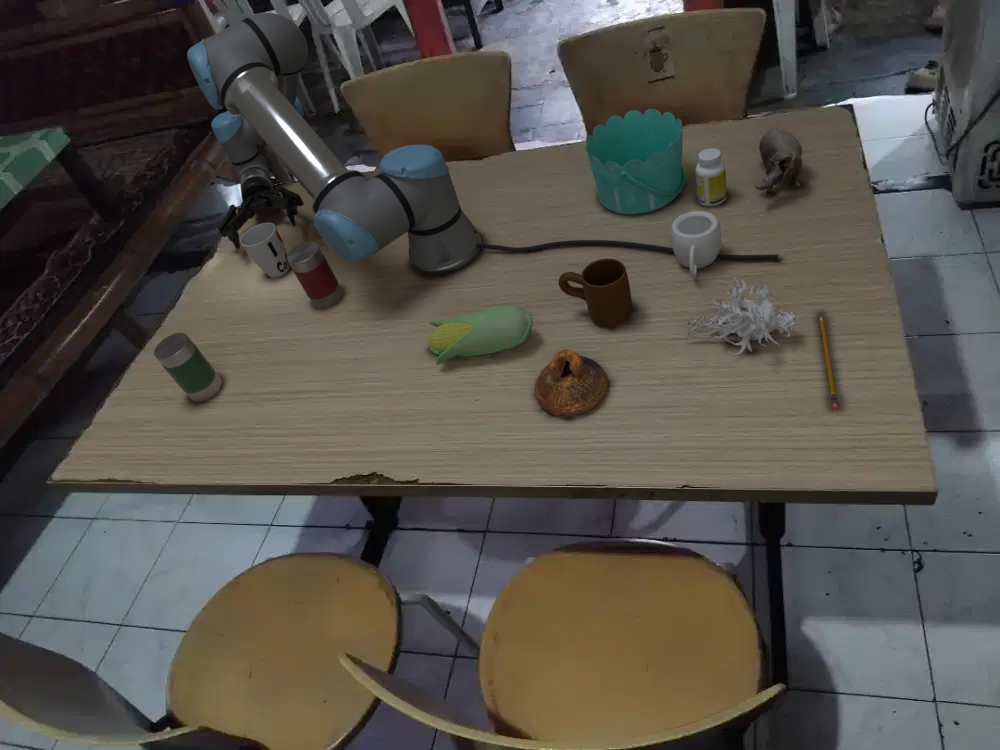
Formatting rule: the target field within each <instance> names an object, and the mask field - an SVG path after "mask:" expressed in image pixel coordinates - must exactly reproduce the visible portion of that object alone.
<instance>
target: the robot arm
mask: <svg viewBox="0 0 1000 750" xmlns="http://www.w3.org/2000/svg"><path fill="white" fill-rule="evenodd" d="M308 55H309V47H308V43H307V40H306V37H305V35H304V33H303V32H302V30H301V28H299V26H297V24H296V23H295V22H293V21H292V20H291V19H289V18H288V17H286V16H283V15H281V14H277V13H274V12H258V13H253V14H251V15H249V16H247V17H245V18H244V19H242V20H240V21H237V22H236V23H234V24H232V25H230V26H228V27H226V28H224V29H222V30H220V31H218V32H216V33H214V34H212V35H211V36H208V37H206V38H202V39H201V41H199V42H198V43H196V44H194V45H193V46H190V48H188V50H187V55H186V57H187V61H188V65H189V67H190V70H191V72H192V74H193V76H194V79H195V80H196V82H197V84H198V86H199V88H200V91H201V92H202V94H203V95H204V97H205V98H206V101H207V102H208V104H209V105H210V106H211V107H212V109H214V110H223V109H224V108H225V109H226V111H225V112H221V113H219V114H218V115H216V116H215V117H214V118H213V119H212V121H211V124H210V125H211V130H212V131H213V133H214V135H215V137H216V139H217V142H218V143H219V144H220V146H221V148H222V150H223V151H224V153H225V155H226V156H227V157H228V160H229V161H230V163H231V165H232V167H233V170H234V171H235V172H236V175H237V176H238V179H239V187H240V195H241V201H242V202H241V203H240V204H239V205H237V206H236V205H235V204H234V203H233V204H230V205H229V208H228V211H227V212H226V214H225V215H224V218H223V219H222V220H221V222H220V223H219V225H218V227H217V230H218V231H219V233H220V234H221V236H222V238H228V240H229V241H230V242H231V243H232V244H233V245H234V247H235V249H236V250H239V249H241V243H240V235H239V234H240V233H239V232H238V231H239V230H241V228H242V227H243V226H244V225H245V224H246V223H247V222H248V220H249V219H250V220H252V219H253V218H254V217H255V216H256V215H257V214H258V213H260V212H262V211H267V210H269V209H272V210H276V209H282V210H285V211H286V216H287V218H288V220H289V222H290V223H291V225H292V227H295V226H297V223H296V218H295V216H296V215H298V213H299V212H298V207H303V206H304V205H305V203H304V201H303V199H302V197H301V196H300V194H299V193H296V192H294V191H292V190H290V189H288V188H285V187H284V185H283V184H280V185H278V186H277V189H276V190H274V187H273V183H272V179H271V173H270V172H271V171H270V165H269V163H268V161H267V159H266V158H265V156H264V155H262V153H261V152H260V149H259V148H258V145H259V144H261V143H262V142H264V143H265V145H267V147H268V148H269V149H270V150H271V151H272V153H273V154H274V155H275V156H276V157H277V159H279V161H280V162H281V163H282V164H283V165H284V167H285V168H286V169H287V170H288V171H289V172H290V174H292V176H293V177H294V178H295V180H296V181H297V182H298V183H299V184H300V185H301V187H302V188H303V189H304V190H305V192H306V193H307V194H308V195H309V196H310V197H311V198H312V200H313V201H312V212H313V213H314V215H313V219H312V220H313V225H314V227H315V229H316V231H317V232H318V234H319V235H320V236H321V237H322V238H323V240H324V242H325V243H326V244H327V245H328V246H329V247H330V249H331V250H333V252H335V254H337V255H338V256H339V257H341V258H342V259H344V260H346V261H348V262H351V263H360V262H363V261H365V260H366V259H368V258H370V257H372V256H374V255H376V254H378V253H379V252H380V251H381V250H382V249H384V248H385V247H387V246H388V245H390V244H391V243H392V242H394V241H395V240H397V239H398V238H400V237H401V236H403V235H405V234H406V233H407V238H408V258H409V261H410V263H411V266H412V268H413V269H414V270H415V271H416V272H418V273H420V274H422V275H426V276H443V275H447V274H451V273H454V272H456V271H459V270H460V269H463V268H465V267H466V266H467V265H469V264H470V263H471V262H472V261H474V260H475V259H476V257H477V256H478V255H479V254H480V252H481V250H482V249H483V250H494V251H502V252H508V253H510V252H511V253H526V252H527V253H528V252H533V251H540V250H544V249H549V248H550V249H551V248H558V247H567V246H612V247H613V246H614V247H624V248H634V249H641V250H648V251H649V250H650V251H655V252H662V253H666V254H667V253H668V254H674V251H673V248H672V247H667V246H662V245H655V244H647V243H641V242H640V243H639V242H629V241H622V240H621V241H620V240H606V239H605V240H604V239H578V240H577V239H576V240H561V241H553V242H548V243H541V244H538V245H532V246H524V247H523V246H521V247H513V246H505V245H500V244H499V245H497V244H486V243H483V241H482V238H481V235H480V232H479V230H478V228H477V227H476V226H475V225H474V223H473V222H472V221H471V220H470V219H469V218H468V217H467V215H466V213H464V211H463V209H462V207H461V203H460V200H459V198H458V195H457V192H456V189H455V187H454V184H453V180H452V178H451V174H450V172H449V171H450V170H449V166H448V165H447V162H446V161H445V159H444V156H443V154H442V152H441V151H440V150H439V149H438V148H437V147H434V146H432V145H429V144H423V143H422V144H408V145H403V146H401V147H397V148H395V149H393V150H391V151H389V152H387V153H385V155H384V156H383V157H382V158H381V160H380V164H379V165H380V171H381V172H379V174H377V175H375V176H374V177H372V178H371V179H370V178H369V180H368V178H366V176H364V174H363V173H362V172H361V171H359V170H356V169H348V168H347V167H346V166H345V165H344V164H343V162H342V161H341V160H340V159H339V158H338V157H337V155H336V154H335V153H334V152H333V151H332V150H331V149H330V148H329V146H328V145H327V144H326V143H325V141H324V140H323V139H322V138H321V137H320V135H318V133H316V131H315V130H314V129H313V128H312V126H311V125H310V124H309V123H308V122H307V121H306V120H305V119H304V116H305V109H304V107H303V104H302V103H301V101H300V99H299V97H298V96H297V94H298V87H299V81H300V75H301V72H302V71H304V68H305V67H306V65H307V61H308ZM715 260H725V261H779V254H725V253H718V255H717V257H716V259H715Z"/></svg>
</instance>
